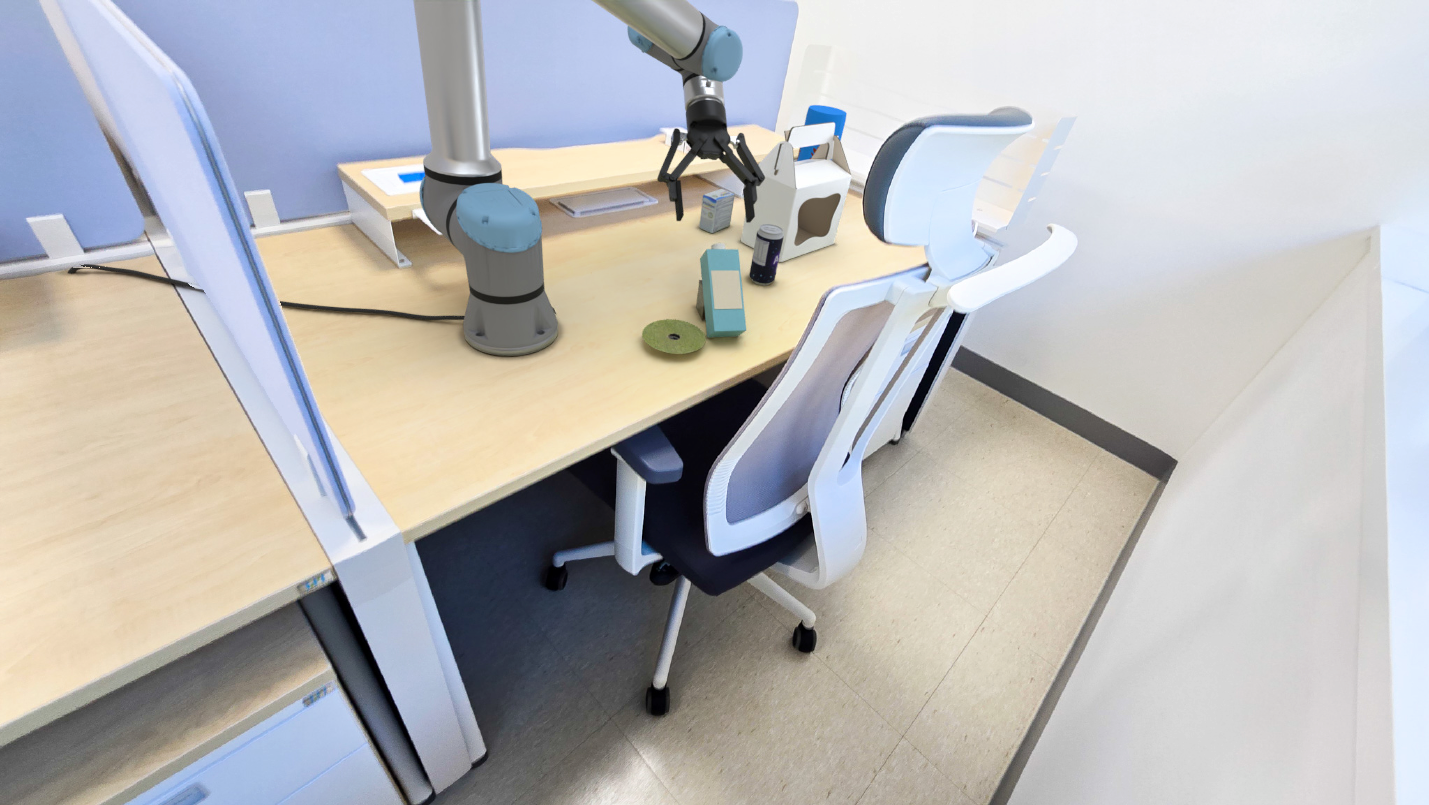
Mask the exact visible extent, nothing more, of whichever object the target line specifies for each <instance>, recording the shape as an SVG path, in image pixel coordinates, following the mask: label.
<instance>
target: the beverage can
mask: <svg viewBox="0 0 1429 805" xmlns="http://www.w3.org/2000/svg"><path fill="white" fill-rule="evenodd" d="M783 238H784V236H783V229H782V228H780V227H779V226H776V225H772V224H763V225H761V226H760V229H759V230H758V231H757V235H756V240H755V246H754V248H753V252H752V256H751V262H750V268H749V274H748V277H749V278H750V280H751V281H752V283H753V284H755V285H758V286H769V285H770V284H771V283H774V282H775V279H776V275H777V271H778V265H779V257H780V252H781V247H782V243H783Z"/></svg>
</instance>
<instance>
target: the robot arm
mask: <svg viewBox="0 0 1429 805" xmlns="http://www.w3.org/2000/svg"><path fill="white" fill-rule="evenodd" d="M412 1H413V8H414V9H413V10H414V17H415V25H416V31H417V32H416V33H417V40H418V48H419V57H420V64H421V73H422V79H423V88H424V96H425V106H426V112H427V119H428V120H427V121H428V128H429V135H430V143H431V150H430V152H429V153H428V154H426V156H425V157H424V158H423V160H422V164H423V172H424V176H423V177H422V179H421V182H420V186H419V202H420V206H421V208H422V210H423V212H424V214H425V217H426V218H427V220H428V221H429V223H430V224H431V225H432V226H433V228H434V229H436V231H437V232H439V233H440V234H441V235H442V236H443V237H444V238H445V239H446V240H447V241H449V243H450V244H451V245H452V246H453V247H454V248H455V249H456V250H457V251H458V252H459V253H460V254H461V255H462V256H463V259H464V264H465V269H466V276H467V283H468V289H469V294H468V300H467V304H466V309H465V313H464V315H425V314H424V315H423V314H415V313H408V312H401V311H394V310H387V309H377V308H361V307H360V308H357V307H341V306H329V305H319V304H317V305H316V304H308V303H307V304H306V303H298V302H290V301H285V300H279V301H280V303H281V305H282V307H288V308H290V307H291V308H297V309H304V310H305V309H307V310H315V311H316V310H317V311H327V312H328V311H329V312H338V313H339V312H340V313H355V314H356V313H357V314H375V315H386V316H395V317H401V318H406V319H407V318H408V319H414V320H415V319H416V320H422V321H423V320H425V321H462V322H463V323H462V329H463V333H464V339H465V340H466V342H467V343H468V345H470V346H471V347H472V348H473V349H475V350H477V351H479V352H481V353H485V354H489V355H493V356H500V357H517V356H524V355H529V354H533V353H535V352H538V351H542V350H543V349H545V348H547V347H548V346H550V345H551V344H552V343H553V342H554V341H555V340H556V338H557V336H558V333H559V322H558V319H557V312H556V309H555V308H554V307H553V306H552V304H551V301H550V299H549V297H548V294H547V293H546V290H545V273H544V254H543V237H542V236H543V235H542V234H543V226H542V224H543V223H542V220H541V217H540V216H541V215H540V209H539V206H538V204H537V202H536V201H535V199H533V197H532V196H531V195H530V194H528V193H527V192H526V191H524V190H522V189H520V188H518V187H515V186H514V187H510V186H509V185H508V184H503V183H504V182H503V170H502V164H501V163H500V161H499V160H498V159H497V158H496V157H494V155H493V154H492V153H491V152H492V151H491V138H490V136H491V135H490V122H489V121H490V120H489V109H488V108H489V107H488V93H487V92H488V91H487V79H486V65H485V50H484V34H483V21H482V20H483V18H482V6H481V5H482V4H481V0H412ZM591 1H592V2H593V3H594V4H596V5H598V6H599V7H600V8H601V9H603V10H605V11H606V12H607V13H609V14H610V15H612V16H613V17H615V18H616V19H618V20H619V21H620V22H622V23H623V24H625V25H626V26H627V37H628V39H629V41H630V44H632V46H634V47H636V48H637V49H639V50H640V51H641V52H642V53H643V54H646V55H648V56H650V57H651V58H653V59H655V60H657V61H658V62H660V63H662V64H663V65H665V66H667V67H669V68H670V69H671V70H673V71H674V72H677V73H678V74H680V75H681V80H682V89H683V100H684V101H683V102H684V111H685V121H686V131H687V132H683V131H681V130H680V129H679V127H677V128H674V129H673V131H672V134H671V137H670V146H669V149H668V151H667V154H666V156H665V158H664V160H663V163H662V164H661V168H660V170H659V172H658V175H657V178H656V180H657V181H658V183H665V185H666V188H667V189H668V190H667V191H668V200H669V202H671V203H674V207H675V208H674V210H675V219H676V222H681V221H682V220H683V218H684V215H685V213H684V203H683V191H682V182H681V180H680V179H679V178H680V177H681V175H683V173H684V172H685V171H686V169H687V168H688V167H689V166H690V165H691V163H692V162H693V161H694V160H695V159H696V158H700V160H712V161H717V160H718V159H719V161H720V162H721V163H722V164H725V165H726V166H727V167H728V168H729V169H730V171H731V172H732V173H733V174H734V175H735V176H736V177H737V179H738V180H739V181H740V182H741V183H742V184H743V185H744V187H743V189H742V192H743V194H742V195H743V202H744V213H745V214H746V223H750V222H751V221H752V220H753V218H754V217H755V213H754V204H755V202H756V201H757V190H756V186H760V185H761V183H762V182H763V181H764V179H765V176H764V174H763V172H762V171H761V169H760V167H759V165H758V164H759V163H758V162H757V160H756V159H755V157H754V155H753V154H752V151H751V150H750V148H749V147H748V145H747V142H746V141H747V140H746V136H745V134H744V133H743V132H739V133H738V134H737V135H730V134H729V131H728V123H727V122H728V120H727V111H726V108H725V106H726V105H725V104H726V103H725V94H724V93H725V92H724V84H723V83H724V82H727V81H729V80H731V79H733V77H734V76H735V75H736V74H737V73H738V71H739V69H740V67H741V64H742V61H743V56H744V49H743V48H744V46H743V42H742V40H741V37H740V36H739V34H738V33H737V32H736V31H734V30H733V29H730V28H728V27H727V26H726V25H719V24H717V23H715V22H714V21H712V19H710V18H709V17H708V16H706V14H704V13H702V12H701V11H700V10H699V9H698V8H696V7H695V6H694V5H693V4H692V3H690V2H689V1H688V0H591ZM684 142H685V143H686V144H687V145H688V147H689V148H690V149H689V151H688V152H687V153H686V155H685V156H684V157H683V158H682V159H681V161H680V162H678V164H677V165H676V167H674V169H673V170H672V171H671V173H669V169H670V166H671V164H672V162H673V159H674V157H675V155H676V153H677V150H678V148H679V147H680V146H682V145H683V143H684ZM729 145H732V148H733V149H734V150H735V152H736V153H737V155H738V157H739V158H738V157H737V156H736V154H735V153H734V151H733V149H732V148H731V147H730V146H729ZM745 214H744V215H745ZM83 264H84V265H81V264H80V265H81V266H83V267H85V266H86V267H90V268H73V266H72V267H70V268H69V269H68V270H67V274H68V275H69V274H70V275H71V274H75V273H76V272H78V271H79V270H87V269H89V270H96V271H97V270H98V271H104V272H112V273H121V274H128V275H134V276H138V277H142V278H147V279H151V280H155V281H158V282H163V283H168V284H172V285H178V286H181V287H185V288H189V289H194V290H196V289H195V288H194V287H192V286H190V285H189V284H188V283H189V282H186V281H182V280H178V279H174V278H170V277H166V276H160V275H155V274H152V273H147V272H143V271H139V270H135V269H128V268H122V267H121V268H120V267H119V268H118V267H112V266H106V267H105V265H98V264H90V263H83ZM91 267H92V268H91ZM99 267H100V268H99ZM281 305H280V306H281Z"/></svg>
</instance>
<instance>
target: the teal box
mask: <svg viewBox="0 0 1429 805" xmlns="http://www.w3.org/2000/svg"><path fill="white" fill-rule="evenodd" d="M699 264H700V274H701V280H702V286H703V297H704V308H705V319H706V320H705V328H706V329H705V330H706V338H732V337H733V338H735V337H737V338H738V337H739V336H740V335H742V334H743V333H745V332H746V331H747V322H746V313H745V312H746V311H745V304H744V303H745V301H744V292H743V282H742V280H743V279H742V271H741V261H740V251H739V249H736V248H729V249H728V248H726V243H723V242H716V243H712V244H711V246H710V248H706V249H705V251H704V252H703V254H702V255H701V256H700V258H699Z"/></svg>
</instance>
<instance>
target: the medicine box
mask: <svg viewBox="0 0 1429 805" xmlns="http://www.w3.org/2000/svg"><path fill="white" fill-rule="evenodd" d="M735 196H736V194H735V193H733V192H731V191H729V190H727V189H724V188H718V189H715V190H713V191H710V192H707V193H705V194H703V195H702V201H701V208H700V217H699V226H698V227H699V229H701V230H703V231H705V232H707V233H710V234H714V233H716V232H719V231H721V230H723V229H726V228H728V227H730V226H731V221H732V216H733V208H734V203H735Z"/></svg>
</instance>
